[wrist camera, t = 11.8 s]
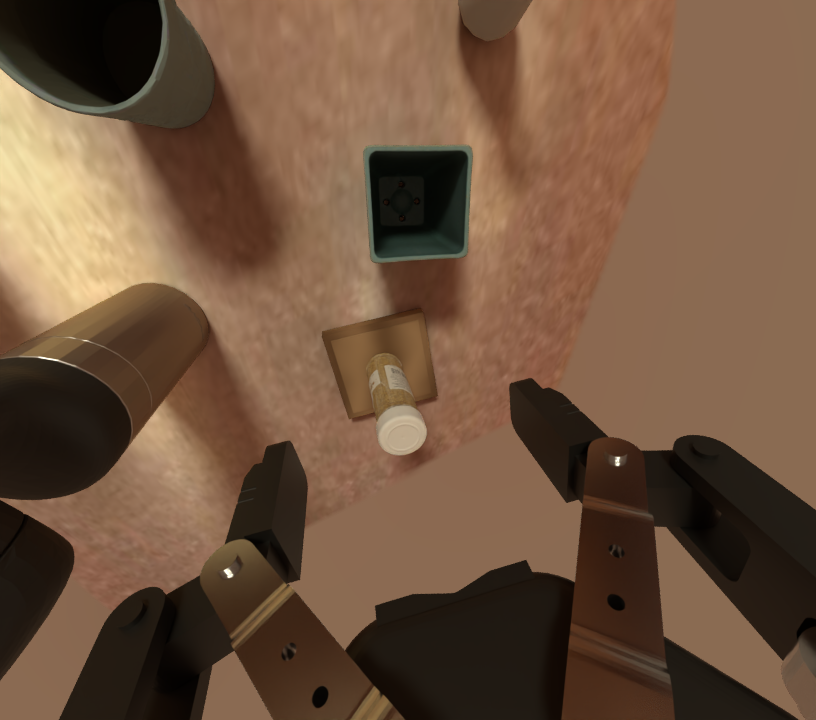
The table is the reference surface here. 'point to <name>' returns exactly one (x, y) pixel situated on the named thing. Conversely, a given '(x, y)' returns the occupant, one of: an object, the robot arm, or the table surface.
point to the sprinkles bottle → (394, 406)
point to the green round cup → (109, 58)
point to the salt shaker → (492, 16)
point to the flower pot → (438, 201)
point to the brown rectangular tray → (375, 337)
